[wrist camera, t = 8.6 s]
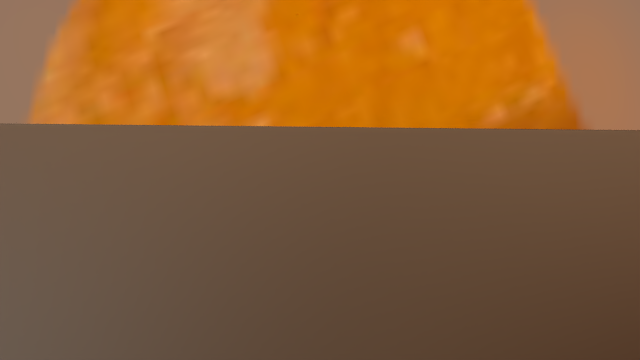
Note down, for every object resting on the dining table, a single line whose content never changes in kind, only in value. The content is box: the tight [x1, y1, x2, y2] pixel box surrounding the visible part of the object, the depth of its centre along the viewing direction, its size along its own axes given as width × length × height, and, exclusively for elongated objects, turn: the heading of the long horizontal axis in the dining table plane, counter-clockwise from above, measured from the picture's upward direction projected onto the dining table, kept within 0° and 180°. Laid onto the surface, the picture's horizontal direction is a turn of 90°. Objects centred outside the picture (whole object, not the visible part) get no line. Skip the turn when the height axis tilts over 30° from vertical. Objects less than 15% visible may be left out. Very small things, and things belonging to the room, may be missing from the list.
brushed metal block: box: [0, 124, 640, 360], centre depth 9 cm, size 5×5×13 cm
